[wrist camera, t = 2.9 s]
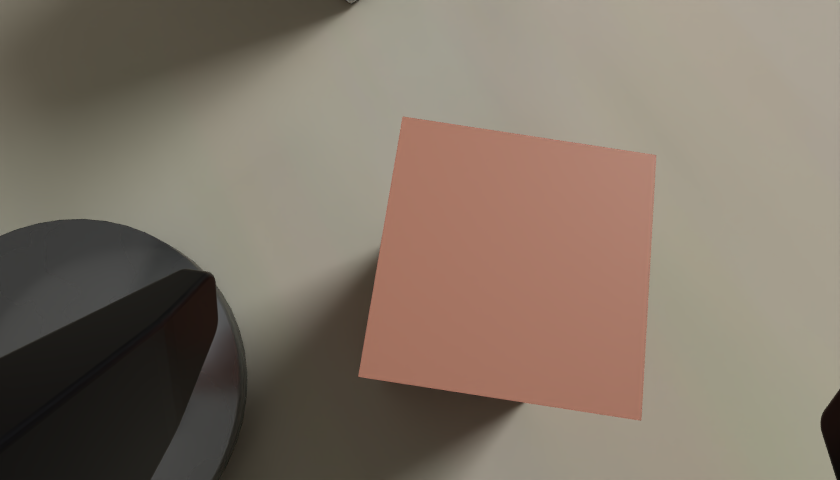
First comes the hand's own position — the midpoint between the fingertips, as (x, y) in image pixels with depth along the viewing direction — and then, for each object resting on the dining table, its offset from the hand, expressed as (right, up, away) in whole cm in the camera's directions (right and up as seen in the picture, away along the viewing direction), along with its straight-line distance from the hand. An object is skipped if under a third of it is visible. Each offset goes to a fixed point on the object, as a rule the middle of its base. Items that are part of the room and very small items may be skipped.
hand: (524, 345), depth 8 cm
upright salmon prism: (0, -1, +10) cm, 10 cm away
